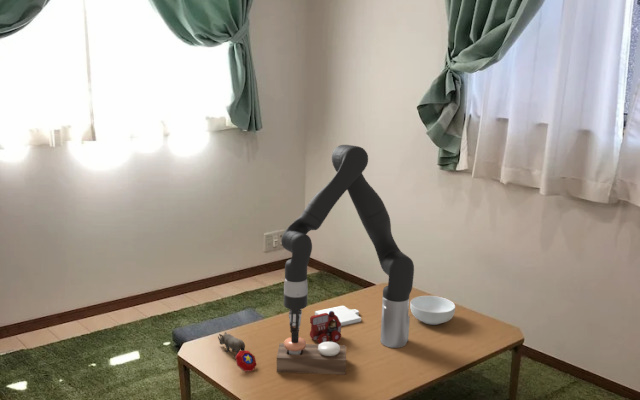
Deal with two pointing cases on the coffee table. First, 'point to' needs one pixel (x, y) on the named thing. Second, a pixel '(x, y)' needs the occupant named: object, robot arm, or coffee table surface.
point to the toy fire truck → (325, 327)
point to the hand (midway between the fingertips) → (294, 341)
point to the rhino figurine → (231, 343)
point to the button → (245, 360)
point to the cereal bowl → (432, 309)
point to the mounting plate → (343, 314)
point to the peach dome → (295, 346)
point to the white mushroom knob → (328, 348)
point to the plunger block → (311, 361)
